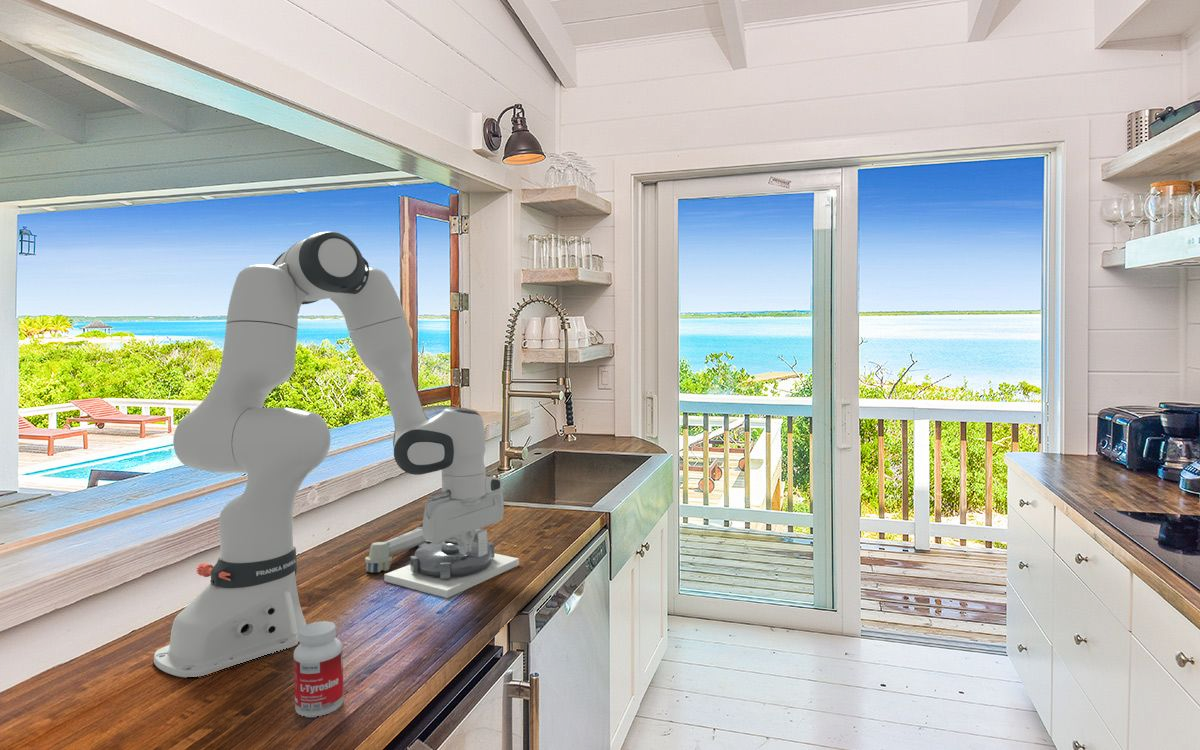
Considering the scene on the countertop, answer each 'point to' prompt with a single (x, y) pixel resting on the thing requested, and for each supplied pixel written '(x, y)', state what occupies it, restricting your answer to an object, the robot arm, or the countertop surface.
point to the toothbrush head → (392, 549)
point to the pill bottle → (318, 670)
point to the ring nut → (452, 557)
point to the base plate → (454, 583)
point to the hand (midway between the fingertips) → (465, 552)
